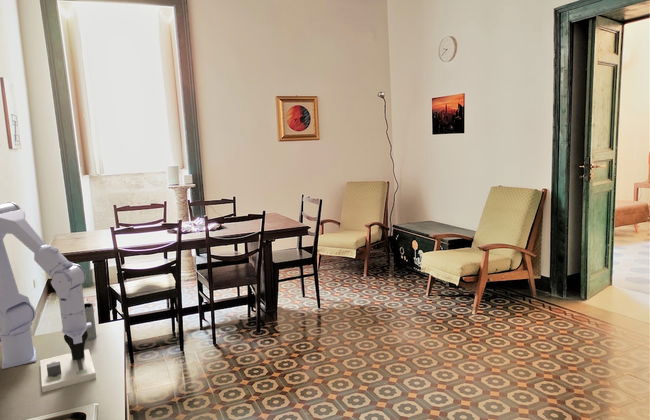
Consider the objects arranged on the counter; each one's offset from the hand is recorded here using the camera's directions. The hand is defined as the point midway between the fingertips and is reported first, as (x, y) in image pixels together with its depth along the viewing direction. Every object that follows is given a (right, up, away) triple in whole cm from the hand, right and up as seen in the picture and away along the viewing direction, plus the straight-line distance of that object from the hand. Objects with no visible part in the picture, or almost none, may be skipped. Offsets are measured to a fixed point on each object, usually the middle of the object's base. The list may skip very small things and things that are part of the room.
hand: (78, 358), depth 131 cm
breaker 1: (-3, -2, -7) cm, 7 cm away
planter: (-6, +1, +18) cm, 19 cm away
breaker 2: (-1, 0, +2) cm, 2 cm away
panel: (-2, -3, -2) cm, 4 cm away
